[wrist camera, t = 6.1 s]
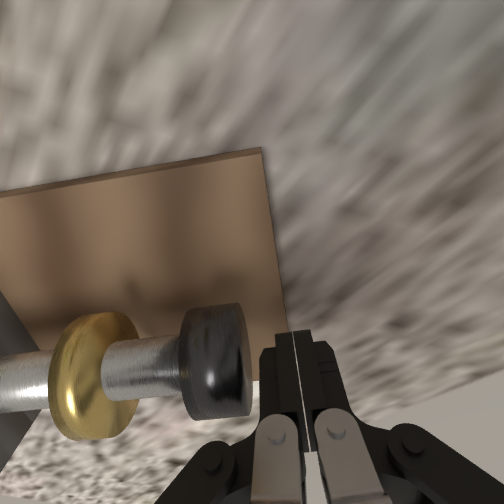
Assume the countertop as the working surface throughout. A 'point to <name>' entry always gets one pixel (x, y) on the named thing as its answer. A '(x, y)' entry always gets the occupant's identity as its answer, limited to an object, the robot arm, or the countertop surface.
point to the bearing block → (137, 256)
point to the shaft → (133, 371)
